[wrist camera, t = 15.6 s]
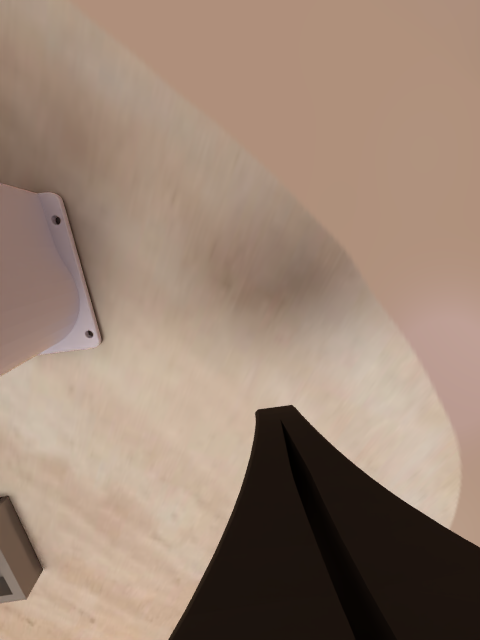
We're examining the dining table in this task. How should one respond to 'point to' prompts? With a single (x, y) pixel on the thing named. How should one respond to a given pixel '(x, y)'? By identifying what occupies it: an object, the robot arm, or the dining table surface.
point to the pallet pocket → (15, 557)
